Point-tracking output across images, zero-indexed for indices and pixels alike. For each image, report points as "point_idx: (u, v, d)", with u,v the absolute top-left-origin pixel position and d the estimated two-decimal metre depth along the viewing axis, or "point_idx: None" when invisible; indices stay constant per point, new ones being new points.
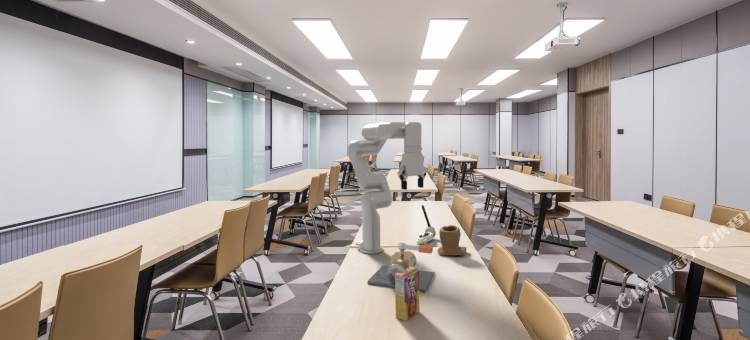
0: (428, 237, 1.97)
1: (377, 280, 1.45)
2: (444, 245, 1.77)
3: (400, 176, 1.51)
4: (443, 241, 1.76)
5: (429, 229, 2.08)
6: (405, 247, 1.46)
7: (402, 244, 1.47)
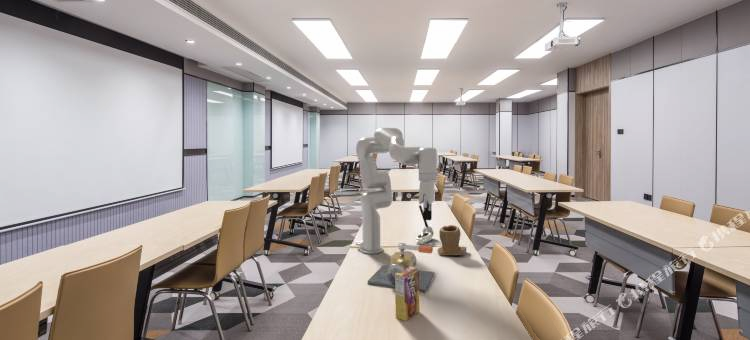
0: (427, 237, 1.97)
1: (377, 280, 1.45)
2: (444, 245, 1.77)
3: (427, 207, 1.45)
4: (443, 241, 1.76)
5: (427, 229, 2.08)
6: (405, 247, 1.46)
7: (402, 244, 1.47)
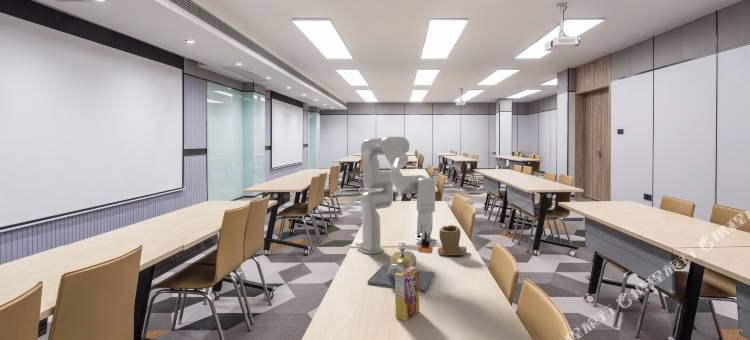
0: None
1: (377, 280, 1.45)
2: (444, 245, 1.77)
3: (425, 238, 1.44)
4: (443, 241, 1.76)
5: None
6: (405, 247, 1.46)
7: (402, 244, 1.47)
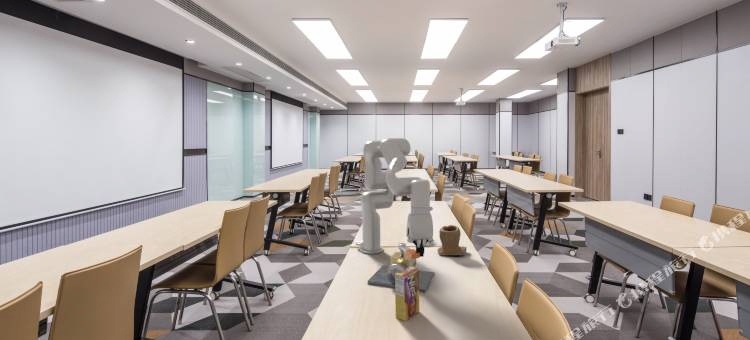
0: None
1: (377, 280, 1.45)
2: (444, 245, 1.77)
3: (413, 242, 1.38)
4: (443, 241, 1.76)
5: None
6: (401, 247, 1.46)
7: (400, 244, 1.47)
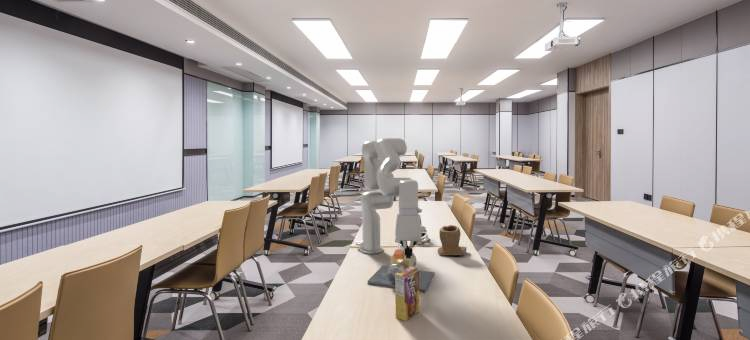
0: (426, 237, 1.98)
1: (377, 280, 1.45)
2: (444, 245, 1.77)
3: (400, 242, 1.38)
4: (443, 241, 1.76)
5: None
6: (398, 247, 1.46)
7: (400, 244, 1.47)
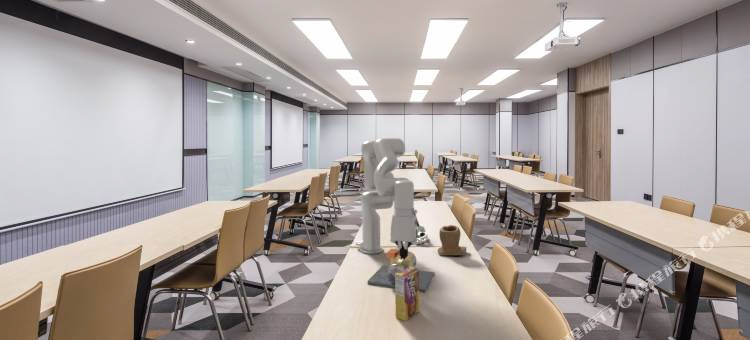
0: (425, 237, 1.98)
1: (377, 280, 1.45)
2: (444, 245, 1.77)
3: (395, 242, 1.38)
4: (443, 241, 1.76)
5: (419, 229, 2.09)
6: None
7: None
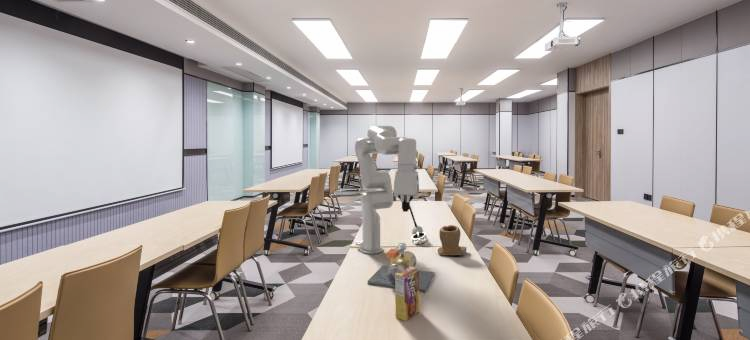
0: (425, 236, 1.98)
1: (377, 280, 1.45)
2: (444, 245, 1.77)
3: (398, 196, 1.48)
4: (443, 241, 1.76)
5: (417, 229, 2.08)
6: None
7: (399, 244, 1.47)
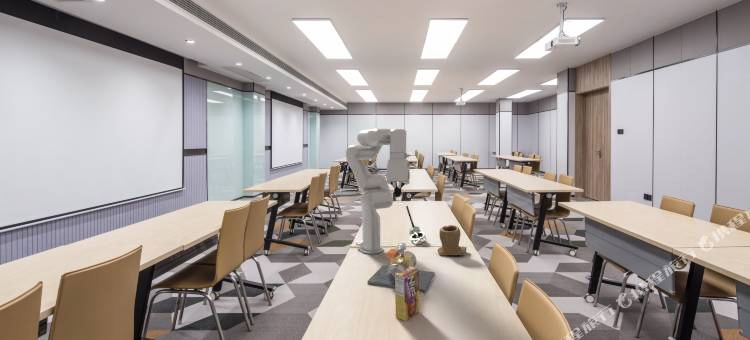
0: (424, 236, 1.98)
1: (377, 280, 1.45)
2: (444, 245, 1.77)
3: (390, 183, 1.60)
4: (443, 241, 1.76)
5: (414, 229, 2.08)
6: None
7: (399, 244, 1.47)
